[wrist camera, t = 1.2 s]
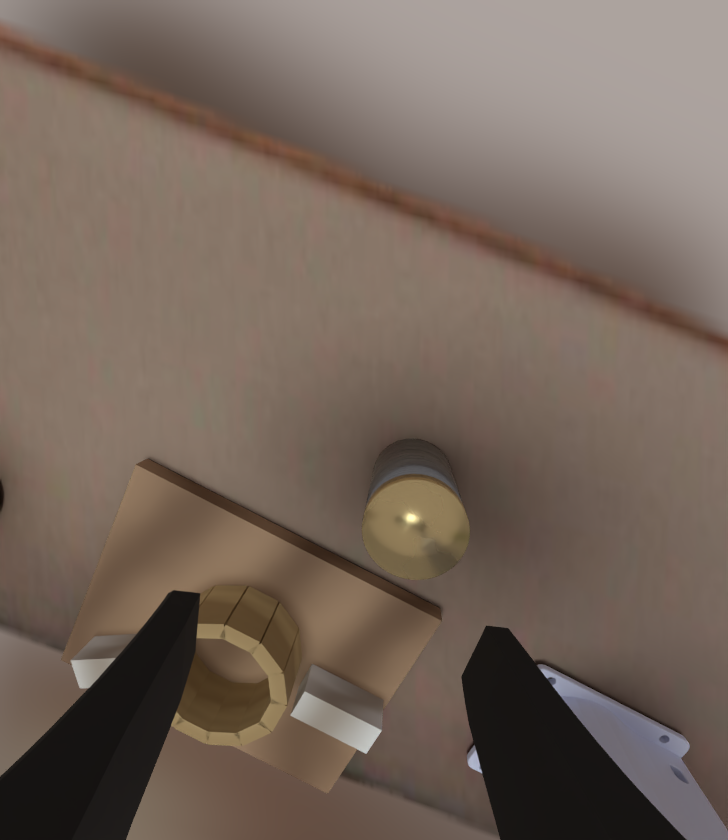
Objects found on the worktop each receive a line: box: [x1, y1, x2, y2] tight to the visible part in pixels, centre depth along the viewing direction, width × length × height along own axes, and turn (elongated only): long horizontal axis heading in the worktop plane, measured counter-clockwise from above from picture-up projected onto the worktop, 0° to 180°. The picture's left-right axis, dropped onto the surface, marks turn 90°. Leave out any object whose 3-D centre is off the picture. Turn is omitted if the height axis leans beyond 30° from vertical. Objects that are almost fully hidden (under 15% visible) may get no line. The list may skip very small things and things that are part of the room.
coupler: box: [362, 439, 470, 580], centre depth 18 cm, size 4×4×6 cm
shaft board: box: [61, 459, 442, 793], centre depth 22 cm, size 18×14×4 cm
